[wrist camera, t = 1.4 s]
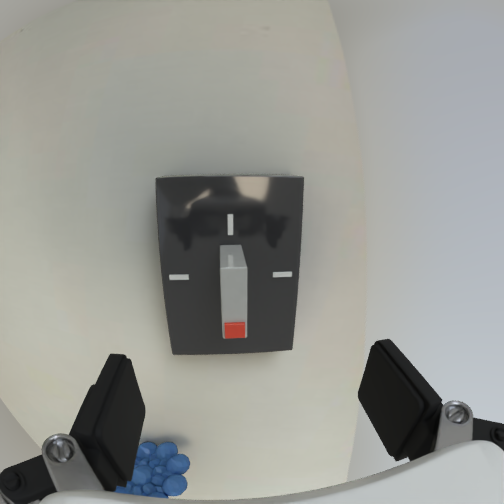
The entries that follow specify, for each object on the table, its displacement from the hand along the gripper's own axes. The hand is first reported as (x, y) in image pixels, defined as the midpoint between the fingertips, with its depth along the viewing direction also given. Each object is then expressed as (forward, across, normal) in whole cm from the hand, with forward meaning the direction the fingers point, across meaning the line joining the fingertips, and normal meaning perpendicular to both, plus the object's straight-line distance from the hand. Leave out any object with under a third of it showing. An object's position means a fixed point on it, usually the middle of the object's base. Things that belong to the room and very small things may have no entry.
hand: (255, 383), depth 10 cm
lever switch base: (+14, 0, 0) cm, 14 cm away
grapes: (+14, +12, +26) cm, 32 cm away
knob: (+11, 0, 0) cm, 11 cm away
